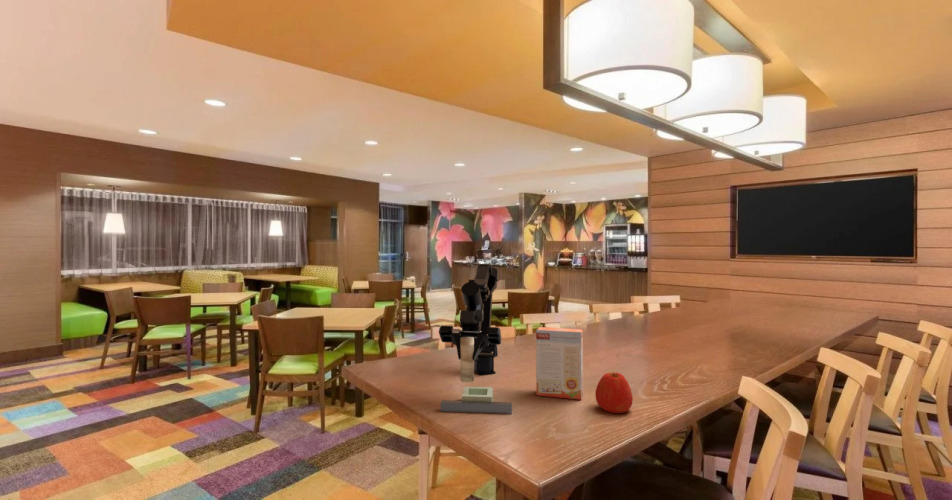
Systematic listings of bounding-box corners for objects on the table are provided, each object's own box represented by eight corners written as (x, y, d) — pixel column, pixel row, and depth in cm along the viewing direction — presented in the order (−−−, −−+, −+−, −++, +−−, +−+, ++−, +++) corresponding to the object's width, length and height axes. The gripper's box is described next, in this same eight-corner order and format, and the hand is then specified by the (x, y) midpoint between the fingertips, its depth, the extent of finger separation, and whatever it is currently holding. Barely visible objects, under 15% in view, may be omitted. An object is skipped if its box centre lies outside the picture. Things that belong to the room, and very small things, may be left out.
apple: (607, 400, 133) (607, 366, 133) (639, 409, 125) (639, 373, 125) (588, 408, 126) (588, 372, 126) (621, 418, 118) (622, 380, 118)
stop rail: (441, 408, 125) (441, 400, 125) (511, 411, 123) (511, 402, 123) (440, 411, 123) (440, 402, 123) (511, 413, 121) (511, 404, 121)
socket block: (464, 399, 133) (464, 386, 133) (492, 400, 133) (492, 387, 133) (461, 410, 125) (461, 396, 125) (491, 411, 124) (491, 396, 124)
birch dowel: (467, 377, 132) (467, 336, 132) (476, 380, 129) (476, 338, 129) (457, 380, 129) (457, 338, 129) (466, 383, 126) (466, 340, 126)
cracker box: (583, 394, 138) (583, 328, 138) (581, 400, 132) (581, 331, 132) (539, 389, 142) (539, 325, 142) (535, 395, 137) (535, 328, 137)
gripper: (440, 299, 135) (430, 342, 124) (500, 300, 132) (495, 345, 121) (446, 320, 143) (437, 363, 132) (503, 322, 139) (498, 366, 128)
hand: (466, 359), depth 128 cm, fingers closed on birch dowel, 4 cm apart
